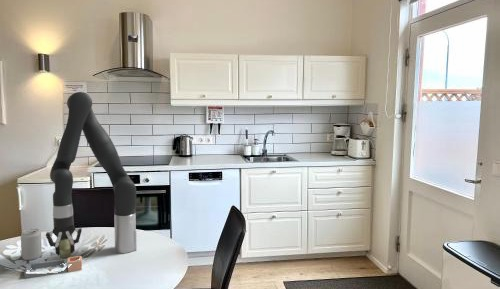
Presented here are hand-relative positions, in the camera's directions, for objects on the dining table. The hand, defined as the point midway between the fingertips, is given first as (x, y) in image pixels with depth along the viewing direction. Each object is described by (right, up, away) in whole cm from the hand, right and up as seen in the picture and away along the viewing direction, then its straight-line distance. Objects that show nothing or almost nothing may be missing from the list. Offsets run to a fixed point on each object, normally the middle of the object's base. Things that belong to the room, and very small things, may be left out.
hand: (65, 253), depth 151 cm
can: (-16, -3, +2) cm, 16 cm away
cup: (+8, -4, -7) cm, 11 cm away
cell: (0, -1, 0) cm, 1 cm away
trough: (-2, -4, -9) cm, 10 cm away
